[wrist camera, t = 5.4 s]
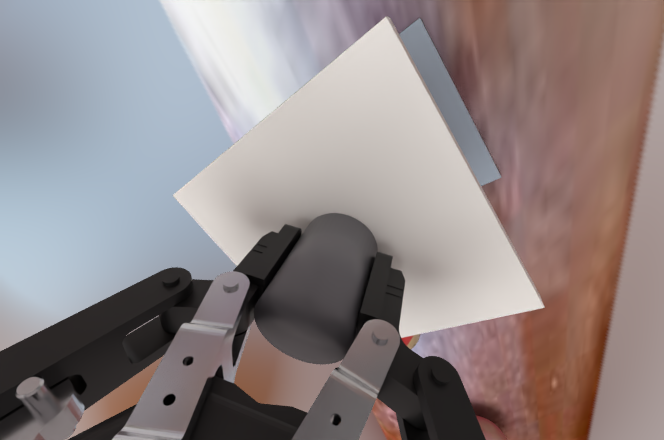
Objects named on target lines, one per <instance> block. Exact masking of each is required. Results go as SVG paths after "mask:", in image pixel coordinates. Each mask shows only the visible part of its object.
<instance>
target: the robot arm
mask: <svg viewBox="0 0 664 440" xmlns="http://www.w3.org/2000/svg"><path fill="white" fill-rule="evenodd" d="M301 232H302V230H301V228H298V227H294V226H291V225H288V224H285V225H284V226H283V227H282V229H281V230H280V231H279V233H276V232H273V231H271V232H269V233H268V234H266V235H264V236H262V237H261V239H260V240H259V241H258V242H257V243H256V245H255V246H254V247H253V248H252V250H250V252H249V253H248V254H247V255H246V256H245V257H244V259H243V260H242V261H241V262H240V263H239V265H238V266H237V267H236V268H235V269H234V271H232V272H225V273H223V274H220V275H219V276H217V277H216V278H215V279H214V280H194V279H193V280H192V278H191V274H190V272H189V271H187V270H185V269H183V268H169V269H165V270H163V271H160V272H159V273H156V274H154V275H152V276H151V277H148V278H146V279H144V280H142V281H140V282H138V283H136V284H134V285H132V286H130V287H128V288H126V289H124V290H122V291H120V292H118V293H116V294H114V295H112V296H111V297H108V298H107V299H104V300H102V301H100V302H98V303H97V304H94V305H92V306H90V307H88V308H86V309H85V310H82V311H80V312H78V313H76V314H74V315H72V316H70V317H68V318H66V319H64V320H62V321H60V322H58V323H56V324H54V325H53V326H50V327H48V328H46V329H44V330H42V331H40V332H38V333H36V334H34V335H33V336H31V337H28V338H26V339H24V340H22V341H20V342H18V343H16V344H14V345H12V346H10V347H9V348H6V349H4V350H2V351H0V440H65V439H67V438H68V437H70V436H71V435H72V434H73V432H74V431H75V429H76V425H77V424H78V422H79V421H80V419H81V417H82V415H83V412H84V410H86V409H87V408H88V407H90V406H91V405H93V404H94V403H95V402H97V401H98V400H100V399H101V398H103V397H104V396H106V395H107V394H109V393H110V392H111V391H113V390H114V389H116V388H117V387H119V386H120V385H121V384H123V383H124V382H126V381H127V380H129V379H130V378H132V377H133V376H134V375H136V374H137V373H139V372H140V371H142V370H143V369H145V368H146V367H147V366H149V365H150V364H152V363H153V362H155V361H156V360H157V359H159V358H160V357H162V356H163V355H164V357H163V359H162V360H161V362H160V364H159V366H158V368H157V369H156V371H155V373H154V375H153V376H152V378H151V380H150V382H149V384H148V386H147V387H146V389H145V391H144V393H143V394H142V396H141V398H140V400H139V402H138V404H136V405H134V406H132V407H130V408H128V409H126V410H124V411H123V412H121V413H119V414H117V415H115V416H113V417H111V418H109V419H107V420H105V421H103V422H101V423H99V424H97V425H95V426H93V427H92V428H90V429H88V430H86V431H84V432H82V433H80V434H78V435H76V436H74V437H72V438H70V439H68V440H359V437H360V435H361V433H362V430H363V428H364V426H365V424H366V421H367V419H368V416H369V414H370V412H371V410H372V407H373V405H374V403H375V400H376V398H378V399H379V400H381V401H382V402H383V403H384V404H386V405H387V406H388V407H389V408H391V409H392V410H393V411H394V412H396V416H397V420H398V425H399V429H400V434H401V438H402V440H486V439H485V436H484V434H483V432H482V429H481V427H480V424H479V422H478V419H477V417H476V415H475V412H474V410H473V407H472V405H471V403H470V400H469V398H468V395H467V393H466V391H465V388H464V386H463V383H462V381H461V379H460V376H459V374H458V372H457V371H456V369H455V368H454V367H453V366H452V365H451V364H450V363H449V362H447V361H446V360H444V359H442V358H440V357H436V356H428V357H425V358H422V357H421V356H419V355H418V354H416V353H415V352H413V351H412V350H411V349H409V348H408V347H407V346H406V344H405V343H404V342H403V340H402V339H401V336H400V333H399V324H400V317H401V309H402V302H403V294H404V287H405V278H404V276H403V273H402V271H400V270H397V269H393V268H391V264H392V259H393V256H391V255H387V254H384V253H381V252H377V253H376V257H375V260H374V264H373V267H372V271H371V274H370V278H369V282H368V285H367V289H366V292H365V296H364V300H363V303H362V307H361V310H360V314H359V317H358V321H357V325H356V334H355V338H354V342H353V344H352V345H351V347H350V349H349V350H348V352H347V354H346V355H345V357H344V359H343V361H342V362H341V364H340V366H339V367H338V368H335V369H334V371H333V372H332V373H331V375H330V377H329V378H328V380H327V382H326V383H325V385H324V387H323V388H322V390H321V392H320V394H319V395H318V397H317V398H316V400H315V402H314V403H313V405H312V407H311V408H310V410H309V412H308V413H307V412H304V411H301V410H299V409H296V408H294V407H290V406H279V405H270V404H260V403H258V402H256V401H255V400H254V399H253V398H251V397H250V396H249V395H248V394H246V393H245V392H244V391H243V390H241V389H240V388H239V387H238V386H237V385H235V384H234V379H235V374H236V370H237V367H238V364H239V361H240V358H241V355H242V352H243V349H244V346H245V343H246V341H247V338H248V334H249V331H250V325H251V323H252V322H253V320H254V309H255V305H256V303H257V302H258V300H259V299H260V297H261V296H262V294H263V293H264V291H265V290H266V288H267V287H268V285H269V284H270V282H271V281H272V279H273V278H274V276H275V275H276V273H277V271H278V270H279V268H280V267H281V265H282V264H283V262H284V261H285V259H286V258H287V256H288V255H289V253H290V252H291V250H292V249H293V247H294V246H295V244H296V243H297V241H298V240H299V238H300V237H301ZM158 315H159V316H158ZM156 316H158V317H157V318H155V319H153V318H154V317H156ZM151 319H153V320H152V321H150V322H148V321H149V320H151ZM146 322H148V323H147V324H145V325H143V324H144V323H146ZM141 325H143V326H142V327H140V328H138V327H139V326H141ZM136 328H138V329H137V330H135V331H133V330H134V329H136ZM131 331H133V332H132V333H130V334H128V333H129V332H131ZM127 334H128V335H127ZM126 335H127V336H126Z"/></svg>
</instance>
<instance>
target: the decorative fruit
mask: <svg viewBox="0 0 664 440" xmlns="http://www.w3.org/2000/svg"><path fill="white" fill-rule="evenodd" d="M476 417H477V419H478V422H479V424H480V427H481V429H482V432H483V434H484V436H485V439H486V440H507V438H506V437H505V435H504V434H503V432H502V431H501V430H500V429H499V428H498V427H497V426H496V425H495V424H494V423H493V422H491V421H490V420H488V419H486V418H483V417H480V416H477V415H476Z"/></svg>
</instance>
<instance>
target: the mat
mask: <svg viewBox="0 0 664 440" xmlns="http://www.w3.org/2000/svg"><path fill="white" fill-rule="evenodd" d="M399 35H400V37H401V39H402V41H403V43H404V45H405V47H406V48H407V50H408V52H409V54H410V56H411V58H412V59H413V61H414V63H415V65H416V67H417V69H418V71H419V72H420V74H421V76H422V78H423V80H424V82H425V84H426V85H427V87H428V89H429V91H430V93H431V95H432V96H433V98H434V100H435V102H436V104H437V106H438V108H439V109H440V111H441V113H442V115H443V117H444V119H445V120H446V122H447V124H448V126H449V128H450V130H451V132H452V133H453V135H454V137H455V139H456V141H457V143H458V145H459V146H460V148H461V150H462V152H463V154H464V156H465V157H466V159H467V161H468V163H469V165H470V167H471V169H472V170H473V172H474V174H475V176H476V178H477V180H478V182H479V183H480V185H481V186H483V185H485V184H487V183H489V182H492V181H494V180H496V179H499V178H501V175H500V173H499V171H498V169H497V167H496V165H495V163H494V161H493V159H492V157H491V155H490V153H489V152H488V150H487V148H486V146H485V144H484V142H483V140H482V138H481V136H480V134H479V132H478V130H477V128H476V126H475V124H474V122H473V120H472V118H471V116H470V114H469V112H468V110H467V108H466V107H465V105H464V103H463V101H462V99H461V97H460V95H459V93H458V91H457V89H456V87H455V85H454V83H453V81H452V79H451V77H450V75H449V73H448V71H447V69H446V67H445V65H444V64H443V62H442V60H441V58H440V56H439V54H438V52H437V50H436V48H435V46H434V44H433V42H432V40H431V38H430V36H429V34H428V32H427V30H426V28H425V26H424V24H423V22H422V20H421V19H420V18H419V19H418V20H416V21H415V22H414V23H413V24H411V25H410V26H409V27H407V28H406V29H405V30H404V31H402V32H401V33H400V34H399Z"/></svg>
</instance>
